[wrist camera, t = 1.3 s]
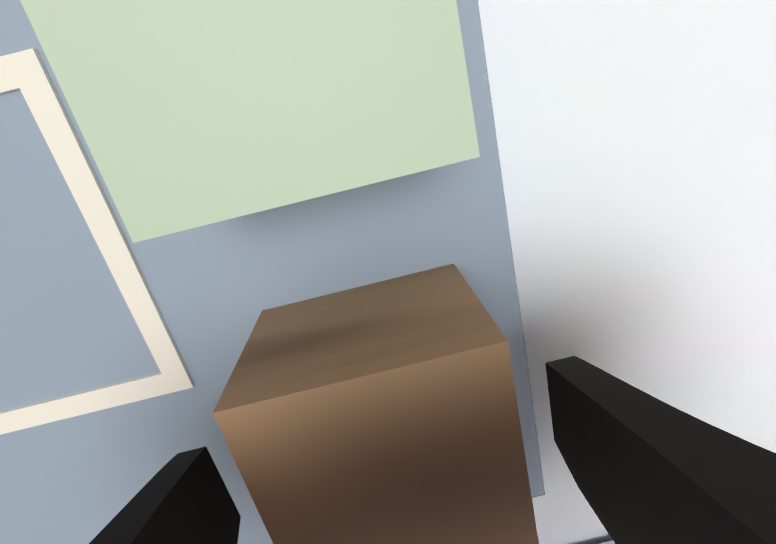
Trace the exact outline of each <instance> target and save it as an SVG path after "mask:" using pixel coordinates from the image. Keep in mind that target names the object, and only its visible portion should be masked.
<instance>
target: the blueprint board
mask: <svg viewBox="0 0 776 544" xmlns="http://www.w3.org/2000/svg"><path fill="white" fill-rule="evenodd" d="M456 1H457V8H458V15H459V21H460V28H461V34H462V41H463V48H464V54H465V61H466V67H467V74H468V81H469V87H470V94H471V101H472V107H473V114H474V120H475V127H476V134H477V140H478V147H479V153H480V157H478V158H474V159H470V160H466V161H462V162H458V163H453V164H449V165H445V166H441V167H437V168H433V169H429V170H425V171H421V172H417V173H413V174H409V175H405V176H401V177H397V178H393V179H389V180H385V181H381V182H377V183H373V184H369V185H365V186H361V187H357V188H353V189H349V190H345V191H341V192H337V193H333V194H329V195H325V196H321V197H317V198H313V199H308V200H304V201H300V202H296V203H292V204H288V205H284V206H280V207H276V208H272V209H268V210H264V211H260V212H256V213H252V214H248V215H244V216H240V217H236V218H232V219H228V220H224V221H220V222H216V223H212V224H208V225H204V226H200V227H196V228H192V229H188V230H184V231H180V232H176V233H172V234H168V235H163V236H159V237H155V238H151V239H147V240H143V241H139V242H135V243H133V242H132V240H131V237H130V235H129V233H128V231H127V229H126V227H125V225H124V222H123V220H122V218H121V216H120V214H119V212H118V210H117V207H116V205H115V203H114V201H113V199H112V197H111V195H110V192H109V190H108V188H107V186H106V184H105V182H104V179H103V177H102V175H101V173H100V171H99V169H98V167H97V164H96V162H95V160H94V158H93V156H92V154H91V152H90V149H89V147H88V145H87V143H86V141H85V139H84V137H83V134H82V132H81V130H80V128H79V126H78V124H77V122H76V119H75V117H74V115H73V113H72V111H71V109H70V106H69V104H68V102H67V100H66V98H65V96H64V94H63V91H62V89H61V87H60V85H59V83H58V81H57V79H56V76H55V74H54V72H53V70H52V68H51V66H50V64H49V61H48V59H47V57H46V55H45V53H44V51H43V49H42V46H41V44H40V42H39V40H38V38H37V36H36V34H35V31H34V29H33V27H32V25H31V23H30V21H29V18H28V16H27V14H26V12H25V10H24V8H23V6H22V3H21V1H20V0H0V544H89V543H90V542H91V541H92V540H93V539H94V538H95V537H96V536H97V535H98V534H99V533H100V532H101V530H102V529H103V528H104V527H105V526H106V525H107V524H108V523H109V522H110V521H111V520H112V519H113V518H114V517H115V516H116V515H117V514H118V513H119V512H120V511H121V510H122V509H123V508H124V507H125V506H126V505H127V503H128V502H129V501H130V500H131V499H132V498H133V497H134V496H135V495H136V494H137V493H138V492H139V491H140V490H141V489H142V488H143V487H144V486H145V485H146V484H147V483H148V482H149V481H150V480H151V479H152V478H153V477H154V475H155V474H156V473H157V472H158V471H159V470H160V469H161V468H162V467H164V466H165V465H166V464H167V463H168V462H169V461H170V460H171V459H172V458H173V457H174V456H175V455H176V454H177V453H181V452H185V451H189V450H193V449H197V448H201V447H205V446H206V447H207V449H208V451H209V453H210V455H211V457H212V459H213V461H214V463H215V465H216V467H217V469H218V471H219V473H220V475H221V477H222V479H223V481H224V484H225V486H226V488H227V490H228V492H229V494H230V496H231V498H232V500H233V502H234V504H235V506H236V508H237V510H238V512H239V514H240V516H241V519H240V527H239V535H238V543H237V544H273V542H272V540H271V538H270V536H269V534H268V532H267V529H266V527H265V525H264V523H263V521H262V519H261V516H260V514H259V512H258V510H257V508H256V506H255V504H254V501H253V499H252V497H251V495H250V493H249V491H248V489H247V486H246V484H245V482H244V480H243V478H242V476H241V474H240V471H239V469H238V467H237V465H236V463H235V461H234V459H233V456H232V454H231V452H230V450H229V448H228V446H227V444H226V441H225V439H224V437H223V435H222V433H221V431H220V428H219V426H218V424H217V422H216V420H215V418H214V416H213V411H214V409H215V407H216V405H217V403H218V401H219V399H220V397H221V394H222V392H223V390H224V388H225V386H226V384H227V382H228V380H229V378H230V376H231V374H232V372H233V370H234V368H235V365H236V363H237V361H238V359H239V357H240V355H241V353H242V351H243V349H244V347H245V345H246V343H247V341H248V339H249V336H250V334H251V332H252V330H253V328H254V326H255V324H256V322H257V320H258V318H259V316H260V314H261V312H262V311H263V310H267V309H271V308H275V307H279V306H283V305H287V304H291V303H295V302H299V301H303V300H307V299H311V298H315V297H319V296H323V295H328V294H332V293H336V292H340V291H344V290H348V289H352V288H356V287H360V286H364V285H368V284H372V283H376V282H380V281H384V280H388V279H392V278H396V277H401V276H405V275H409V274H413V273H417V272H421V271H425V270H429V269H433V268H437V267H441V266H445V265H449V264H453V263H454V265H455V266H456V267H457V269H458V270H459V272H460V273H461V275H462V276H463V277H464V279H465V280H466V282H467V283H468V285H469V286H470V287H471V289H472V290H473V292H474V293H475V295H476V296H477V297H478V299H479V300H480V302H481V303H482V305H483V306H484V307H485V309H486V310H487V312H488V313H489V315H490V316H491V317H492V319H493V320H494V322H495V323H496V325H497V326H498V328H499V329H500V330H501V332H502V333H503V335H504V336H505V338H506V339H507V340H508V345H509V352H510V358H511V365H512V371H513V378H514V385H515V391H516V398H517V404H518V411H519V418H520V424H521V431H522V437H523V444H524V451H525V457H526V464H527V471H528V477H529V484H530V490H531V497H532V498H533V497H537V496H541V495H545V492H544V485H543V477H542V470H541V462H540V455H539V448H538V440H537V433H536V426H535V418H534V411H533V404H532V396H531V389H530V382H529V374H528V367H527V360H526V352H525V345H524V337H523V330H522V323H521V315H520V308H519V301H518V293H517V286H516V279H515V271H514V264H513V257H512V249H511V242H510V235H509V227H508V220H507V212H506V205H505V198H504V190H503V183H502V176H501V168H500V161H499V154H498V146H497V139H496V132H495V124H494V117H493V110H492V102H491V95H490V87H489V80H488V73H487V65H486V58H485V51H484V43H483V36H482V29H481V21H480V14H479V7H478V0H456Z"/></svg>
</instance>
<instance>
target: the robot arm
mask: <svg viewBox="0 0 776 544" xmlns="http://www.w3.org/2000/svg"><path fill="white" fill-rule="evenodd" d="M545 364H546V372H547V381H548V390H549V398H550V407H551V415H552V424H553V433H554V440H555V442H556V444H557V446H558V448H559V450H560V452H561V454H562V456H563V458H564V460H565V462H566V464H567V466H568V468H569V470H570V472H571V474H572V476H573V478H574V480H575V482H576V483H577V485H578V487H579V489H580V490H581V492H582V493H583V495H584V497H585V498H586V500H587V501H588V503H589V504H590V506H591V507H592V509H593V510H594V512H595V513H596V515H597V516H598V518H599V520H600V521H601V523H602V524H603V526H604V527H605V529H606V530H607V532H608V533H609V535H610V536H611V538H612V539H613V540H611V541H607V542H603V543H599V544H776V453H773V452H771V451H769V450H766V449H764V448H761V447H759V446H757V445H754V444H752V443H750V442H748V441H746V440H743V439H741V438H739V437H737V436H734V435H732V434H730V433H728V432H725V431H723V430H721V429H719V428H716V427H714V426H712V425H710V424H708V423H706V422H703V421H701V420H699V419H697V418H695V417H693V416H691V415H689V414H687V413H685V412H683V411H680V410H678V409H676V408H674V407H672V406H670V405H668V404H666V403H664V402H662V401H660V400H658V399H656V398H654V397H652V396H650V395H649V394H647V393H645V392H643V391H641V390H639V389H637V388H635V387H633V386H631V385H629V384H627V383H626V382H624V381H622V380H620V379H618V378H616V377H614V376H612V375H610V374H609V373H607V372H605V371H603V370H601V369H599V368H597V367H595V366H593V365H592V364H590V363H588V362H586V361H584V360H582V359H580V358H578V357H576V356H572V357H568V358H564V359H559V360H555V361H551V362H547V363H545ZM240 519H241V516H240V514H239V512H238V510H237V508H236V506H235V504H234V502H233V500H232V498H231V496H230V494H229V492H228V490H227V488H226V486H225V484H224V481H223V479H222V477H221V475H220V473H219V471H218V469H217V467H216V465H215V463H214V461H213V459H212V457H211V455H210V453H209V451H208V449H207V447H206V446H205V447H201V448H197V449H193V450H189V451H185V452H181V453H177V454H176V455H175V456H174V457H173V458H172V459H171V460H170V461H169V462H168V463H167V464H166V465H165V466H164V467H162V468H161V469H160V470H159V471H158V472H157V473H156V474H155V475H154V477H153V478H152V479H151V480H150V481H149V482H148V483H147V484H146V485H145V486H144V487H143V488H142V489H141V490H140V491H139V492H138V493H137V494H136V495H135V496H134V497H133V498H132V499H131V500H130V501H129V502H128V503H127V505H126V506H125V507H124V508H123V509H122V510H121V511H120V512H119V513H118V514H117V515H116V516H115V517H114V518H113V519H112V520H111V521H110V522H109V523H108V524H107V525H106V526H105V527H104V528H103V529H102V530H101V532H100V533H99V534H98V535H97V536H96V537H95V538H94V539H93V540H92V541H91V542H90V543H89V544H237V543H238V535H239V527H240Z"/></svg>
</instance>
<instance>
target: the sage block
mask: <svg viewBox="0 0 776 544" xmlns="http://www.w3.org/2000/svg"><path fill="white" fill-rule="evenodd" d="M20 1H21V3H22V6H23V8H24V10H25V12H26V14H27V16H28V18H29V21H30V23H31V25H32V27H33V29H34V31H35V34H36V36H37V38H38V40H39V42H40V44H41V46H42V49H43V51H44V53H45V55H46V57H47V59H48V61H49V64H50V66H51V68H52V70H53V72H54V74H55V76H56V79H57V81H58V83H59V85H60V87H61V89H62V91H63V94H64V96H65V98H66V100H67V102H68V104H69V106H70V109H71V111H72V113H73V115H74V117H75V119H76V122H77V124H78V126H79V128H80V130H81V132H82V134H83V137H84V139H85V141H86V143H87V145H88V147H89V149H90V152H91V154H92V156H93V158H94V160H95V162H96V164H97V167H98V169H99V171H100V173H101V175H102V177H103V179H104V182H105V184H106V186H107V188H108V190H109V192H110V195H111V197H112V199H113V201H114V203H115V205H116V207H117V210H118V212H119V214H120V216H121V218H122V220H123V222H124V225H125V227H126V229H127V231H128V233H129V235H130V237H131V240H132V242H133V243H135V242H139V241H143V240H147V239H151V238H155V237H159V236H163V235H168V234H172V233H176V232H180V231H184V230H188V229H192V228H196V227H200V226H204V225H208V224H212V223H216V222H220V221H224V220H228V219H232V218H236V217H240V216H244V215H248V214H252V213H256V212H260V211H264V210H268V209H272V208H276V207H280V206H284V205H288V204H292V203H296V202H300V201H304V200H308V199H313V198H317V197H321V196H325V195H329V194H333V193H337V192H341V191H345V190H349V189H353V188H357V187H361V186H365V185H369V184H373V183H377V182H381V181H385V180H389V179H393V178H397V177H401V176H405V175H409V174H413V173H417V172H421V171H425V170H429V169H433V168H437V167H441V166H445V165H449V164H453V163H458V162H462V161H466V160H470V159H474V158H478V157H480V153H479V147H478V140H477V134H476V127H475V120H474V114H473V107H472V101H471V94H470V87H469V81H468V74H467V67H466V61H465V54H464V48H463V41H462V34H461V28H460V21H459V15H458V8H457V1H456V0H20Z"/></svg>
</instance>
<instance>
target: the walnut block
mask: <svg viewBox="0 0 776 544" xmlns="http://www.w3.org/2000/svg"><path fill="white" fill-rule="evenodd" d="M213 416H214V418H215V420H216V422H217V424H218V426H219V428H220V431H221V433H222V435H223V437H224V439H225V441H226V444H227V446H228V448H229V450H230V452H231V454H232V456H233V459H234V461H235V463H236V465H237V467H238V469H239V471H240V474H241V476H242V478H243V480H244V482H245V484H246V486H247V489H248V491H249V493H250V495H251V497H252V499H253V501H254V504H255V506H256V508H257V510H258V512H259V514H260V516H261V519H262V521H263V523H264V525H265V527H266V529H267V532H268V534H269V536H270V538H271V540H272V542H273V544H539V543H538V537H537V530H536V523H535V517H534V510H533V504H532V497H531V490H530V484H529V477H528V471H527V464H526V457H525V451H524V444H523V437H522V431H521V424H520V418H519V411H518V404H517V398H516V391H515V385H514V378H513V371H512V365H511V358H510V352H509V345H508V340H507V339H506V338H505V336H504V335H503V333H502V332H501V330H500V329H499V328H498V326H497V325H496V323H495V322H494V320H493V319H492V317H491V316H490V315H489V313H488V312H487V310H486V309H485V307H484V306H483V305H482V303H481V302H480V300H479V299H478V297H477V296H476V295H475V293H474V292H473V290H472V289H471V287H470V286H469V285H468V283H467V282H466V280H465V279H464V277H463V276H462V275H461V273H460V272H459V270H458V269H457V267H456V266H455V265H454V263H453V264H449V265H445V266H441V267H437V268H433V269H429V270H425V271H421V272H417V273H413V274H409V275H405V276H401V277H396V278H392V279H388V280H384V281H380V282H376V283H372V284H368V285H364V286H360V287H356V288H352V289H348V290H344V291H340V292H336V293H332V294H328V295H323V296H319V297H315V298H311V299H307V300H303V301H299V302H295V303H291V304H287V305H283V306H279V307H275V308H271V309H267V310H263V311H262V312H261V314H260V316H259V318H258V320H257V322H256V324H255V326H254V328H253V330H252V332H251V334H250V336H249V339H248V341H247V343H246V345H245V347H244V349H243V351H242V353H241V355H240V357H239V359H238V361H237V363H236V365H235V368H234V370H233V372H232V374H231V376H230V378H229V380H228V382H227V384H226V386H225V388H224V390H223V392H222V394H221V397H220V399H219V401H218V403H217V405H216V407H215V409H214V411H213Z"/></svg>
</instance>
